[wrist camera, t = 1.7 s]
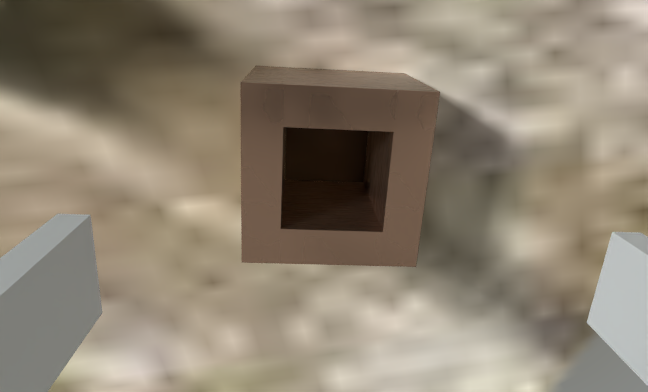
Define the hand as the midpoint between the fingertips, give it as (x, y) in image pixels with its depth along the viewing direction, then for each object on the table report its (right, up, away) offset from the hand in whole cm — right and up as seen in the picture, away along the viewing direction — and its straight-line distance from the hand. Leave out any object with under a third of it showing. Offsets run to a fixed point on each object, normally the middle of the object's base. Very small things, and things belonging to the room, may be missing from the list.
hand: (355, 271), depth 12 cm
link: (-1, +5, +11) cm, 12 cm away
